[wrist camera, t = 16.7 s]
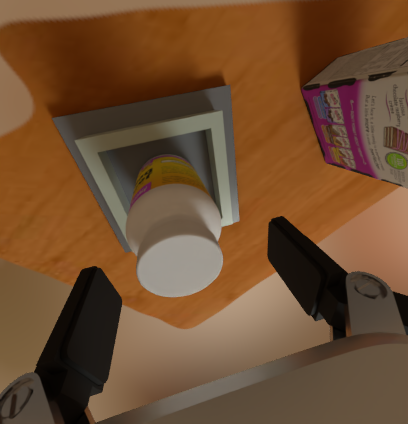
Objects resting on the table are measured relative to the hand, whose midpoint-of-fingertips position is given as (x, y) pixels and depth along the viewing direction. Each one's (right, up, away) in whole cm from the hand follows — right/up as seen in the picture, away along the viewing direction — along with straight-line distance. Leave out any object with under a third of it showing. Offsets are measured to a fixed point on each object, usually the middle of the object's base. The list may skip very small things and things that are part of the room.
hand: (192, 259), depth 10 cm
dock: (-4, +6, +11) cm, 13 cm away
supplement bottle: (-3, +6, +11) cm, 13 cm away
